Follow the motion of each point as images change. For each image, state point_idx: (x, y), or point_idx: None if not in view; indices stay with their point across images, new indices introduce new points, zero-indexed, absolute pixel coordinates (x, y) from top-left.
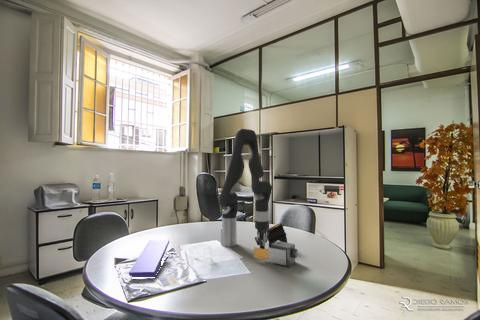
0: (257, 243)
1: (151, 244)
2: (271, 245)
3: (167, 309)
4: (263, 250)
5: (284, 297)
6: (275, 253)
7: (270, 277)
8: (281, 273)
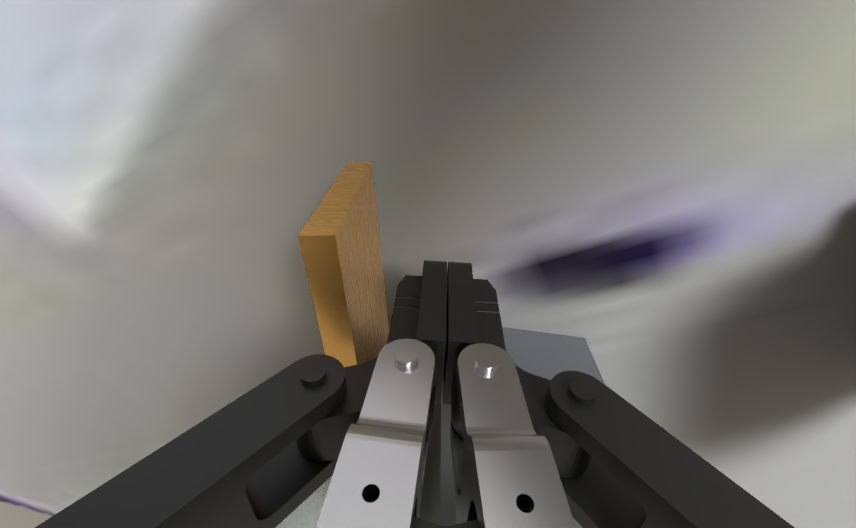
0: (244, 408)
1: None
2: (438, 512)
3: None
4: None
5: (40, 482)
6: None
7: (156, 391)
8: None
